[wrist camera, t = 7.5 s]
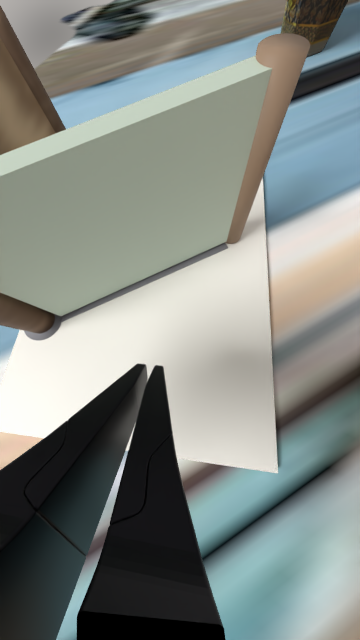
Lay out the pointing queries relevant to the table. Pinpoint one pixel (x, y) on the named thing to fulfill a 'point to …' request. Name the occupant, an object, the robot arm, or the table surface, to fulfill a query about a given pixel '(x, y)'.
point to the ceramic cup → (312, 20)
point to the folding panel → (142, 182)
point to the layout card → (166, 354)
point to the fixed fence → (16, 131)
